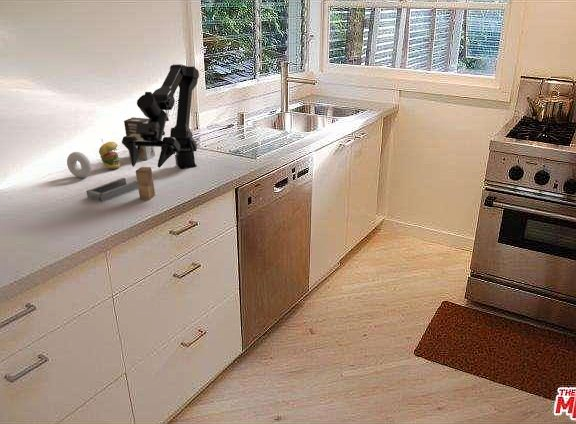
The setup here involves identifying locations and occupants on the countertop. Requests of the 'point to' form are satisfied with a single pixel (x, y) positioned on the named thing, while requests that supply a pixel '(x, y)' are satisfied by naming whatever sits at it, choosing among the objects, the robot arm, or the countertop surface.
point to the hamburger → (109, 155)
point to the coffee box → (138, 137)
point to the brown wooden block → (145, 183)
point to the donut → (82, 160)
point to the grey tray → (111, 190)
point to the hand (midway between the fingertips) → (145, 166)
